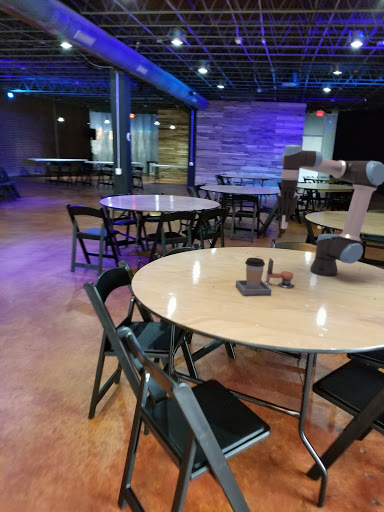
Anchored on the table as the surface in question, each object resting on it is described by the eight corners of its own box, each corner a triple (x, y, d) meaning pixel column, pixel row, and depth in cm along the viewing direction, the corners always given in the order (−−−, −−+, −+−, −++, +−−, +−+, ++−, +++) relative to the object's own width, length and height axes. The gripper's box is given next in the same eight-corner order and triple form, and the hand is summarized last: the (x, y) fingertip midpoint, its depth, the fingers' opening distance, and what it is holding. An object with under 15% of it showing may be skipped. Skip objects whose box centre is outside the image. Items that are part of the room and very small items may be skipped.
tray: (261, 285, 176) (261, 280, 175) (270, 295, 163) (271, 289, 163) (235, 285, 174) (236, 280, 173) (243, 296, 161) (244, 290, 160)
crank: (290, 276, 179) (293, 258, 177) (294, 279, 174) (296, 262, 171) (265, 275, 179) (267, 257, 177) (268, 278, 173) (270, 261, 171)
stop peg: (269, 282, 182) (270, 270, 180) (272, 284, 178) (273, 272, 176) (262, 282, 181) (263, 270, 179) (264, 284, 177) (266, 272, 176)
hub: (289, 282, 182) (290, 275, 181) (296, 288, 174) (297, 280, 173) (275, 283, 181) (276, 275, 180) (281, 288, 173) (282, 281, 172)
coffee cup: (262, 293, 163) (265, 263, 159) (242, 291, 165) (245, 261, 161) (262, 286, 172) (265, 258, 168) (243, 284, 174) (246, 256, 170)
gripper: (306, 180, 159) (299, 230, 165) (283, 178, 169) (278, 225, 175) (296, 180, 154) (290, 231, 161) (273, 178, 164) (268, 226, 170)
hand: (284, 228), depth 168 cm, fingers closed
